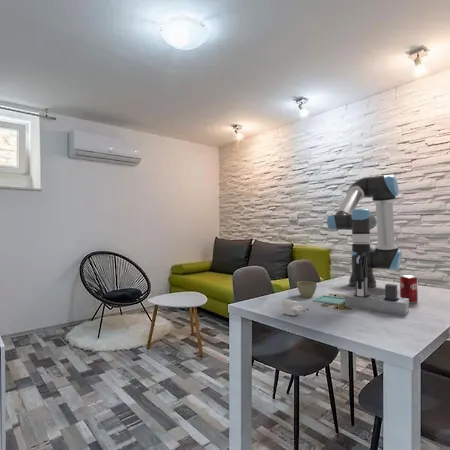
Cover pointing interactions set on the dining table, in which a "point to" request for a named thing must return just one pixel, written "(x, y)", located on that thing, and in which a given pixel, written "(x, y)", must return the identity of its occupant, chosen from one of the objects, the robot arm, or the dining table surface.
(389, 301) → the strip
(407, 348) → the dining table surface
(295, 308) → the white lumpy piece
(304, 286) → the flower pot
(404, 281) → the soda can
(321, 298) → the tray
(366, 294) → the plug
